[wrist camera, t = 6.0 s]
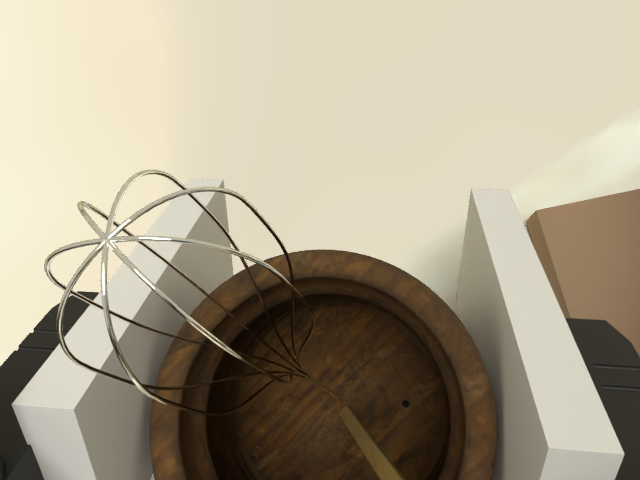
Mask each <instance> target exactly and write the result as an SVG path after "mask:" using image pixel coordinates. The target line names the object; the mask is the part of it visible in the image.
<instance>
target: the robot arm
mask: <svg viewBox="0 0 640 480" xmlns="http://www.w3.org/2000/svg"><path fill="white" fill-rule="evenodd" d="M184 186H185V187H186V188H187V189H190V188H197V187H219V188H224V181H223V180H214V179H189V180H188V181H187V182H186V184H185V185H184ZM180 191H182V189H181V190H180ZM192 194H193V195H194V196H195V197H196V198H197V199H198V200H199V201H200V202H201V203H202V204H203V205H204V206H205V207H206V208H207V209H208V210H209V211H210V212H211V213H212V214H213V215H214V216H215V217H216V219H217V220H218V221H219V222H220V223H221V224H222V226H223V227H224V228H225V229H226V231H227V232H228V233H229V229H228V219H227V210H226V200H225V193H220V192H197V193H192ZM145 236H165V237H176V238H185V239H192V240H198V241H203V242H208V243H213V244H217V245H221V246H225V247H228V248H230V241H229V239H228V238H227V236H226V235H225V234H224V232H223V231H222V230H221V229H220V227H219V226H218V225H217V224H216V223H215V222H214V221H213V220H212V218H211V217H210V216H209V215H208V214H207V213H206V212H205V211H204V210H203V209H202V208H201V207H200V206H199V205H198V204H197V203H196V202H195V201H194V200H193V199H192V198H191V197H189V196H188V195H187V194H186V195H183V196H179V197H176V198H174V199H173V200H172V201H171V203H170V204H169V205H168V207H167V208H166V209H165V210H164V212H163V213H162V214H161V215H160V217H159V218H158V219H157V220H156V222H155V223H154V224H153V226H152V227H151V228H150V229H149V231H148V232H147V233H146V234H145ZM143 242H144V243H145V244H147V245H148V246H149V247H151V248H152V249H153V250H155V251H156V252H157V253H159V254H160V255H161V256H163V257H164V258H165V259H166V260H168V261H169V262H170V263H171V264H173V265H174V266H175V267H176V268H178V269H179V270H180V271H181V272H183V273H184V274H185V275H186V276H188V277H189V278H190V279H191V280H192V281H194V282H195V283H196V284H197V285H199V286H200V287H201V288H202V289H203V290H204V291H206V292H207V293H208V294H210V293H211V292H212V291H213V290H215V289H216V288H217V287H218V286H220V285H221V284H222V283H224V282H225V281H226V280H228V279H229V278H231V277H232V276H233V268H232V258H231V254H230V253H227V252H223V251H220V250H215V249H211V248H206V247H201V246H196V245H189V244H182V243H172V242H156V241H143ZM127 258H128V259H129V260H130V261H131V262H132V263H133V264H134V265H135V266H136V267H137V268H138V269H139V270H140V271H141V272H142V273H143V274H144V275H145V276H146V277H147V278H148V279H149V280H150V281H152V282H153V283H154V284H155V285H156V286H157V287H158V288H159V289H160V290H161V291H162V292H163V293H164V294H166V295H167V296H168V297H169V298H170V299H171V300H172V301H173V302H174V303H176V304H177V305H178V306H179V307H180V308H181V309H182V310H184V311H185V312H186V313H187V314H188V315H190V314H191V313H192V312H193V310H194V309H195V308H196V307H197V306H198V305H199V304H200V303H201V302H202V301H203V300H204V299H205V298H206V297H207V296H206V295H204V294H203V293H202V292H201V291H200V290H198V289H197V288H196V287H195V286H193V285H192V284H191V283H190V282H189V281H187V280H186V279H185V278H184V277H182V276H181V275H180V274H179V273H177V272H176V271H175V270H174V269H172V268H171V267H170V266H168V265H167V264H166V263H165V262H163V261H162V260H161V259H159V258H158V257H157V256H155V255H154V254H153V253H151V252H150V251H149V250H147V249H146V248H145V247H143V246H142V245H141V244H139V243H138V245H137V246H136V247H135V248H134V250H133V251H132V252H131V253H130V255H129V256H128V257H127ZM77 293H79V294H81V295H83V296H84V297H86V298H88V299H90V300H92V301H94V302H96V303H98V304H100V305H102V306H103V304H102V293H101V292H100V293H97V292H79V291H78V292H77ZM107 294H108V304H109V309H110V310H112V311H114V312H116V313H118V314H120V315H122V316H124V317H126V318H129V319H131V320H133V321H136V322H138V323H141V324H143V325H146V326H149V327H152V328H155V329H158V330H161V331H164V332H167V333H171V334H174V335H176V334H177V332H178V331H179V329H180V328H181V326H182V325H183V323H184V322H185V321H186V320H185V319H184V318H183V317H182V316H181V315H180V314H178V313H177V312H176V311H175V310H174V309H173V308H172V307H170V306H169V305H168V304H167V303H166V302H165V301H164V300H163V299H161V298H160V297H159V296H158V295H157V294H156V293H155V292H154V291H153V290H152V289H151V288H150V287H148V286H147V285H146V284H145V283H144V282H143V281H142V280H141V279H140V278H139V277H138V276H137V275H136V274H135V273H134V272H133V271H132V270H131V269H130V268H129V267H128V266H127V265H126V264H125V263H124V262H123V264H122V265H121V266H120V267H119V269H118V270H117V271H116V273H115V274H114V275H113V276H112V278H111V279H110V280H109V281H108V283H107ZM456 297H457V303H458V309H459V315H460V320H461V322H462V324H463V325H464V326H465V328H466V329H467V331H468V333H469V334H470V336H471V338H472V339H473V341H474V343H475V345H476V347H477V349H478V351H479V353H480V355H481V357H482V360H483V362H484V364H485V367H486V370H487V373H488V376H489V379H490V383H491V387H492V391H493V395H494V400H495V406H496V415H497V433H498V441H497V456H496V462H495V469H494V474H493V478H492V480H640V357H639V355H638V353H637V352H636V350H635V348H634V346H633V345H632V343H631V342H630V341H629V340H628V339H627V338H626V337H625V336H623V335H622V334H621V333H620V332H619V331H618V330H616V329H615V328H614V327H613V326H612V325H610V324H609V323H608V322H607V321H606V320H592V319H575V318H565V317H564V315H563V313H562V310H561V308H560V306H559V304H558V301H557V299H556V297H555V294H554V292H553V290H552V288H551V285H550V283H549V281H548V278H547V276H546V274H545V272H544V269H543V267H542V265H541V263H540V260H539V258H538V256H537V253H536V251H535V249H534V247H533V244H532V242H531V240H530V237H529V235H528V233H527V231H526V228H525V226H524V224H523V221H522V219H521V217H520V215H519V212H518V210H517V208H516V206H515V203H514V201H513V199H512V196H511V194H510V192H509V190H489V189H488V190H487V189H471V194H470V201H469V208H468V215H467V223H466V230H465V237H464V245H463V252H462V259H461V266H460V274H459V281H458V288H457V296H456ZM59 305H60V303H59V304H58V305H56V306H55V307H53V308H52V309H51V310H50V311H49V312H48V313H47V314H46V315H45V317H44V318H43V319H42V320H41V321H40V322H39V323H38V324H37V326H36V327H35V328H34V332H33V333H30V334H29V335H28V336H27V337H26V338H25V339H24V340H23V341H22V343H21V344H20V345H19V349H18V351H14V352H13V353H12V354H11V355H10V356H9V357H8V359H7V360H6V361H5V362H4V363H3V364H2V365H1V366H0V480H150V477H151V475H152V473H153V468H152V462H151V455H150V443H149V423H150V411H151V404H152V398H150V397H148V396H147V395H146V394H144V393H143V392H142V391H141V390H140V389H139V388H138V387H137V386H133V385H129V384H126V383H123V382H120V381H117V380H114V379H111V378H108V377H106V376H103V375H100V374H97V373H95V372H92V371H89V370H87V369H85V368H83V367H81V366H79V365H77V364H75V363H74V362H73V361H71V360H70V359H69V358H68V356H67V355H66V354H65V353H64V351H63V349H62V347H61V345H60V342H59V339H58V335H57V314H58V309H59ZM110 317H111V321H112V326H113V330H114V333H115V336H116V340H117V342H118V345H119V347H120V350H121V352H122V354H123V356H124V359H125V361H126V362H127V364H128V366H129V367H130V369H131V371H132V372H133V374H134V375H135V376H136V378H137V379H138V380H139V382H140V383H142V384H147V385H153V386H155V384H156V380H157V377H158V374H159V370H160V368H161V365H162V363H163V360H164V357H165V355H166V353H167V351H168V349H169V347H170V345H171V343H172V341H173V339H174V338H173V337H169V336H166V335H162V334H159V333H156V332H153V331H150V330H147V329H144V328H141V327H138V326H136V325H134V324H131V323H129V322H126V321H124V320H122V319H119V318H117V317H115V316H113V315H111V314H110ZM62 329H63V336H64V339H65V342H66V345H67V347H68V349H69V350H70V352H71V353H72V354H73V355H74V356H75V357H76V358H77V359H79V360H80V361H82V362H84V363H86V364H88V365H90V366H92V367H95V368H97V369H100V370H103V371H105V372H108V373H111V374H113V375H116V376H119V377H122V378H125V379H128V380H131V379H130V378H129V377H128V375H127V373H126V372H125V370H124V369H123V367H122V365H121V364H120V361H119V359H118V357H117V355H116V353H115V351H114V348H113V346H112V343H111V340H110V337H109V334H108V330H107V326H106V322H105V317H104V311H103V310H101V309H99V308H97V307H95V306H93V305H91V304H89V303H87V302H85V301H83V300H81V299H79V298H77V297H75V296H73V295H72V296H70V297H69V298H68V299H67V302H66V305H65V308H64V313H63V319H62ZM131 381H132V380H131ZM148 390H149V391H150V392H152V393H154V390H153V389H148Z"/></svg>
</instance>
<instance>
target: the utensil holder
mask: <svg viewBox="0 0 640 480" xmlns="http://www.w3.org/2000/svg"><path fill="white" fill-rule="evenodd" d="M148 174H157V175H161V176H164V177H166V178H168V179H170V180H171V181H173V182H174V183H175V184H176V185H178V186H179V187H180V188H181V189H182V191H178V192H175V193H172V194H170V195H167V196H164V197H162V198H161V199H158V200H156V201H154V202H152V203H150V204H149V205H147V206H146V207H144V208H142V209H141V210H139V211H137V212H136V213H135V214H133V215H132V216H131V217H129V218H128V219H127V220H125V221H124V222H123V223H121V224H118V223H117V222H116V221H114V217H115V214H116V211H117V208H118V205H119V203H120V201H121V198H122V196H123V195H124V193H125V191H126V190H127V188H128V187H129V186H130V185H131V184H132V182H134V181H135V180H136V179H138V178H139V177H141V176H144V175H148ZM197 192H220V193H225V194H229V195H232V196H234V197H236V198H238V199H240V200H241V201H242V202H243V203H244V204H245V205H246V206H248V207H249V208H250V209H251V210H252V211H253V213H254V214H255V215H256V216H257V217H258V218H259V219H260V221H261V222H262V223H263V224H264V225H265V226H266V227H267V229H268V230H269V231H270V232H271V233H272V235H273V236H274V237H275V239H276V240H277V242H278V243H279V245H280V246H281V248H282V250H283V252H284V254H283V255H279V256H276V257H273V258H269V259H266V260H264V261H262V260H260V259H258V258H255V257H253V256H251V255H249V254H246V253H243V252H240V250H239V249H238V247H237V245H236V244H235V242H234V241H233V239H232V238H231V236H230V235H229V233H228V232H227V231H226V229H225V228H224V227H223V226H222V224H221V223H220V222H219V221H218V220H217V219H216V217H215V216H214V215H213V214H212V213H211V212H210V211H209V210H208V209H207V208H206V207H205V206H204V205H203V204H202V203H201V202H200V201H199V200H198V199H197V198H196V197H195V196H194V195H193V194H192V193H197ZM186 194H187V195H188V196H189V197H191V198H192V199H193V200H194V201H195V202H196V203H197V204H198V205H199V206H200V207H201V208H202V209H203V210H204V211H205V212H206V213H207V214H208V215H209V216H210V217H211V218H212V220H213V221H214V222H215V223H216V224H217V225H218V226H219V227H220V229H221V230H222V231H223V232H224V234H225V235H226V236H227V238H228V239H229V241H230V242H231V244H232V245H233V247H234V248H235V249H232V248H228V247H225V246H221V245H217V244H213V243H208V242H203V241H198V240H192V239H185V238H176V237H165V236H135V235H133V234H132V233H130V232H129V231H128V230H127V229H125V227H126V226H128V225H129V224H130V223H132V222H133V221H134V220H136V219H137V218H138V217H140V216H141V215H143V214H144V213H146V212H148V211H149V210H151V209H152V208H154V207H156V206H158V205H160V204H162V203H164V202H166V201H168V200H171V199H174V198H176V197H179V196H183V195H186ZM77 206H78V209H79V211H80V213H81V214H82V216H83V217H84V218H85V220H86V221H87V222H88V224H89V225H90V226H91V227H92V228H93V230H94V231H95V232H96V233H97V234H98V235H99V236H100V237H101V238H100V239H93V240H86V241H81V242H77V243H72V244H70V245H67V246H64V247H61V248H59V249H57V250H55V251H54V252H52V253H51V254H50V255H49V256H48V257H47V259H46V260H45V264H44V269H45V272H46V274H47V276H48V277H49V279H50V280H51V281H52V282H53V283H54V284H55V285H57V286H58V287H59V288H61V289H63V290H65V292H64V294H63V296H62V299H61V302H60V305H59V309H58V314H57V335H58V339H59V342H60V345H61V347H62V349H63V351H64V353H65V354H66V355H67V356H68V358H69V359H70V360H71V361H73V362H74V363H75V364H77V365H79V366H81V367H83V368H85V369H87V370H89V371H92V372H95V373H97V374H100V375H103V376H106V377H108V378H111V379H114V380H117V381H120V382H123V383H126V384H129V385H133V386H137V387H138V388H139V389H140V390H141V391H142V392H143V393H144V394H146V395H147V396H148V397H150V398H152V404H151V411H150V423H149V443H150V455H151V462H152V468H153V473H154V477H155V480H492V478H493V474H494V469H495V462H496V456H497V441H498V433H497V415H496V406H495V400H494V395H493V391H492V387H491V383H490V379H489V376H488V373H487V370H486V367H485V364H484V362H483V360H482V357H481V355H480V353H479V351H478V349H477V347H476V345H475V343H474V341H473V339H472V338H471V336H470V334H469V333H468V331H467V329H466V328H465V326H464V325H463V324H462V322H461V321H460V320H459V318H458V317H457V316H456V314H455V313H454V312H453V311H452V310H451V309H450V307H449V306H448V305H447V304H446V303H445V302H444V301H443V300H442V299H441V298H440V297H439V296H438V295H437V294H436V293H434V292H433V291H432V290H431V289H430V288H429V287H427V286H426V285H425V284H423V283H422V282H421V281H419V280H418V279H416V278H415V277H413V276H412V275H410V274H408V273H407V272H405V271H403V270H401V269H399V268H397V267H395V266H393V265H391V264H389V263H386V262H384V261H382V260H379V259H376V258H373V257H370V256H366V255H362V254H358V253H353V252H347V251H339V250H338V251H337V250H306V251H299V252H292V253H288V252H287V250H286V248H285V246H284V244H283V242H282V241H281V240H280V238H279V237H278V235H277V234H276V232H275V231H274V230H273V229H272V227H271V226H270V225H269V224H268V222H267V221H266V220H265V219H264V218H263V217H262V215H261V214H260V213H259V212H258V211H257V210H256V209H255V207H254V206H253V205H252V204H250V202H248V201H247V200H246V199H245V198H244V197H243V196H241V195H240V194H238V193H236V192H234V191H231V190H229V189H224V188H219V187H197V188H190V189H187V188H186V187H185V186H184V185H183V184H182V183H180V182H179V181H178V180H177V179H176V178H174V177H173V176H171V175H170V174H168V173H165V172H163V171H159V170H144V171H141V172H138V173H136V174H135V175H133V176H132V177H130V178H129V179H128V180H127V181H126V182H125V184H124V185H123V186H122V188H121V189H120V191H119V192H118V194H117V196H116V199H115V201H114V203H113V206H112V208H111V212H110V215H109V216H107V215H106V214H105V213H103V212H102V211H100V210H99V209H97V208H95V207H94V206H92V205H91V204H89V203H86V202H83V201H80V202H78V204H77ZM83 206H84V207H87V208H89V209H91V210H92V211H94V212H96V213H97V214H99V215H101V216H102V217H103V218H105V219H106V220H107V221H108V223H107V227H106V232H105V234H104V232H102V230H101V229H100V228H99V227H98V226H97V225H96V223H95V222H94V221H93V220H92V219H91V217H90V216H89V215H88V214H87V212H86V211H85V209H84V207H83ZM113 225H114V226H116V227H117V228H116V229H115V230H114V231H112V226H113ZM111 231H112V232H111ZM121 231H123V232H124V233H125V234H127V235H128V236H122V237H115V236H116V235H117V234H119V233H120V232H121ZM107 239H108V240H107ZM106 240H107V241H106ZM127 241H136V242H138V243H139V244H141V245H142V246H143V247H145V248H146V249H147V250H149V251H150V252H151V253H153V254H154V255H155V256H157V257H158V258H159V259H161V260H162V261H163V262H165V263H166V264H167V265H168V266H170V267H171V268H172V269H174V270H175V271H176V272H177V273H179V274H180V275H181V276H182V277H184V278H185V279H186V280H187V281H189V282H190V283H191V284H192V285H193V286H195V287H196V288H197V289H198V290H200V291H201V292H202V293H203V294H204V295H206V296H207V297H206V298H205V299H204V300H203V301H202V302H201V303H200V304H199V305H198V306H197V307H196V308H195V309H194V310H193V312H192V313H191V314H190V315H188V314H187V313H186V312H185V311H184V310H182V309H181V308H180V307H179V306H178V305H177V304H176V303H174V302H173V301H172V300H171V299H170V298H169V297H168V296H167V295H166V294H164V293H163V292H162V291H161V290H160V289H159V288H158V287H157V286H156V285H155V284H154V283H153V282H152V281H150V280H149V279H148V278H147V277H146V276H145V275H144V274H143V273H142V272H141V271H140V270H139V269H138V268H137V267H136V266H135V265H134V264H133V263H132V262H131V261H130V260H129V259H128V258H127V257H126V256H125V255H124V254H123V253H122V252H121V251H120V250H119V249H118V248H117V247H116V245H115V244H113V243H114V242H127ZM143 241H156V242H172V243H182V244H189V245H196V246H201V247H206V248H211V249H215V250H220V251H223V252H227V253H230V254H234V255H237V256H239V257H240V259H241V261H242V263H243V265H244V266H245V268H246V269H244V270H242V271H241V272H239V273H237V274H235V275H234V276H232V277H231V278H229V279H228V280H226V281H225V282H224V283H222V284H221V285H220V286H218V287H217V288H216V289H215V290H213V291H212V292H211V293H210V294H208V293H207V292H206V291H204V290H203V289H202V288H201V287H200V286H199V285H197V284H196V283H195V282H194V281H192V280H191V279H190V278H189V277H188V276H186V275H185V274H184V273H183V272H181V271H180V270H179V269H178V268H176V267H175V266H174V265H173V264H171V263H170V262H169V261H168V260H166V259H165V258H164V257H163V256H161V255H160V254H159V253H157V252H156V251H155V250H153V249H152V248H151V247H149V246H148V245H147V244H145V243H144V242H143ZM96 244H99V245H98V246H97V247H96V248H95V249H94V250H93V251H92V252H91V253H90V254H89V256H88V257H87V258H86V259H85V261H84V262H83V263H82V265H81V266H80V267H79V268H78V270H77V271H76V273H75V274H74V276H73V277H72V279H71V281H70V282H69V284H68V286H67V287H66V286H65V285H63V284H62V283H60V282H59V281H58V280H57V279H56V278H55V277H54V276H53V274H52V273H51V270H50V262H51V260H52V259H53V258H55V257H56V256H57V255H59V254H61V253H63V252H65V251H68V250H71V249H74V248H79V247H83V246H88V245H96ZM109 247H110V248H111V249H112V250H113V252H114V253H115V254H116V255H117V256H118V257H119V258H120V259H121V260H122V261H123V262H124V263H125V264H126V265H127V266H128V267H129V268H130V269H131V270H132V271H133V272H134V273H135V274H136V275H137V276H138V277H139V278H140V279H141V280H142V281H143V282H144V283H145V284H146V285H147V286H148V287H150V288H151V289H152V290H153V291H154V292H155V293H156V294H157V295H158V296H159V297H160V298H161V299H163V300H164V301H165V302H166V303H167V304H168V305H169V306H170V307H172V308H173V309H174V310H175V311H176V312H177V313H178V314H180V315H181V316H182V317H183V318H184V319H185V320H186V321H185V322H184V323H183V325H182V326H181V328H180V329H179V331H178V332H177V334H176V335H174V334H171V333H167V332H164V331H161V330H158V329H155V328H152V327H149V326H146V325H143V324H141V323H138V322H136V321H133V320H131V319H129V318H126V317H124V316H122V315H120V314H118V313H116V312H114V311H112V310H110V309H109V304H108V294H107V260H108V251H109ZM102 249H103V253H102V261H101V293H102V304H103V306H102V305H100V304H98V303H96V302H94V301H92V300H90V299H88V298H86V297H84V296H83V295H81V294H79V293H77V292H75V291H73V290H72V288H73V286H74V285H75V283H76V282H77V280H78V278H79V277H80V275H81V274H82V272H83V271H84V270H85V268H86V267H87V266H88V265H89V263H90V262H91V261H92V260H93V258H94V257H95V256H96V255H97V254H98V253H99V252H100V251H101V250H102ZM244 258H245V259H247V260H250V261H252V262H255V263H256V264H254V265H252V266H250V267H248V265H247V263H246V262H245V260H244ZM70 294H71V295H73V296H75V297H77V298H79V299H81V300H83V301H85V302H87V303H89V304H91V305H93V306H95V307H97V308H99V309H101V310H103V311H104V317H105V322H106V326H107V330H108V334H109V337H110V340H111V343H112V346H113V348H114V351H115V353H116V355H117V357H118V359H119V361H120V364H121V365H122V367H123V369H124V370H125V372H126V373H127V375H128V377H129V378H130V379H131V380H132V381H131V380H128V379H125V378H122V377H119V376H116V375H113V374H111V373H108V372H105V371H103V370H100V369H97V368H95V367H92V366H90V365H88V364H86V363H84V362H82V361H80V360H79V359H77V358H76V357H75V356H74V355H73V354H72V353H71V352H70V350H69V349H68V347H67V345H66V342H65V339H64V336H63V329H62V319H63V313H64V308H65V305H66V302H67V299H68V297H69V295H70ZM110 314H111V315H113V316H115V317H117V318H119V319H122V320H124V321H126V322H129V323H131V324H134V325H136V326H138V327H141V328H144V329H147V330H150V331H153V332H156V333H159V334H162V335H166V336H169V337H173V338H174V339H173V341H172V343H171V345H170V347H169V349H168V351H167V353H166V355H165V357H164V360H163V363H162V365H161V368H160V370H159V374H158V377H157V380H156V384H155V386H153V385H147V384H142V383H140V382H139V380H138V379H137V378H136V376H135V375H134V374H133V372H132V371H131V369H130V367H129V366H128V364H127V362H126V361H125V359H124V356H123V354H122V352H121V350H120V347H119V345H118V342H117V340H116V336H115V333H114V330H113V326H112V321H111V317H110ZM148 389H153V390H154V393H152V392H150V391H149V390H148Z"/></svg>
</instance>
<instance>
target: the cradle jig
mask: <svg viewBox="0 0 640 480" xmlns="http://www.w3.org/2000/svg"><path fill="white" fill-rule="evenodd" d="M526 224H527V227H528V230H529V234H530V237H531V240H532V243H533V246H534V249H535V251H536V253H537V256H538V258H539V260H540V263H541V265H542V267H543V269H544V272H545V274H546V276H547V278H548V281H549V283H550V285H551V288H552V290H553V292H554V294H555V297H556V299H557V301H558V304H559V306H560V308H561V310H562V313H563V315H564V317H565V318H575V319H592V320H606V321H607V322H608V323H609V324H610V325H612V326H613V327H614V328H615V329H616V330H618V331H619V332H620V333H621V334H622V335H623V336H625V337H626V338H627V339H628V340H629V341H630V342H631V343H632V345H633V346H634V348H635V350H636V352H637V353H638V355H639V357H640V189H637V190H632V191H628V192H623V193H618V194H613V195H608V196H604V197H599V198H594V199H589V200H584V201H580V202H575V203H570V204H565V205H561V206H556V207H551V208H546V209H541V210H537V211H535V212H534V213H533V215H532V216H531V217H530V218H529V219H528V220H527V221H526Z"/></svg>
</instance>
